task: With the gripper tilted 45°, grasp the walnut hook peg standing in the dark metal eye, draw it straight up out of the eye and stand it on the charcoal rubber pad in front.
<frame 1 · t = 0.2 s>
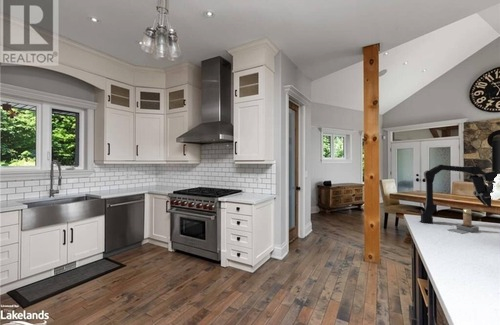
hand: (487, 206, 153), 15 cm above the countertop, tool pointing down, fingers open, 9 cm apart
pad: (457, 231, 148), on the countertop
hook peg: (467, 219, 150), in the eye
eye: (467, 230, 150), on the countertop
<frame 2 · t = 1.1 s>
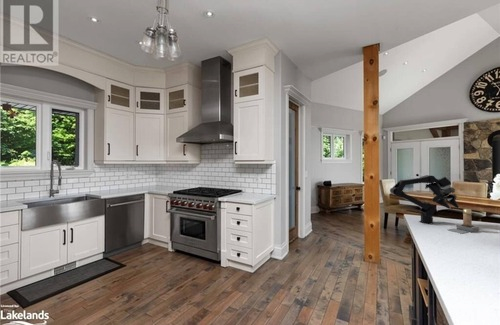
hand: (454, 208, 157), 14 cm above the countertop, tool tilted 45°, fingers open, 9 cm apart
nothing on the countertop moved.
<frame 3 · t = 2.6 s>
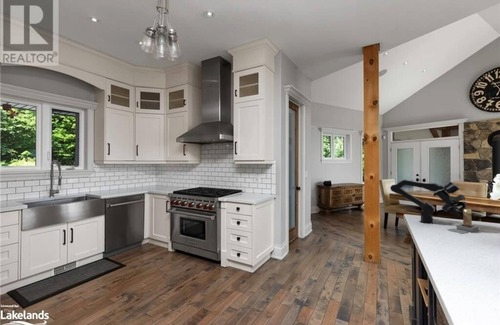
hand: (465, 216, 151), 9 cm above the countertop, tool tilted 45°, fingers open, 9 cm apart
nothing on the countertop moved.
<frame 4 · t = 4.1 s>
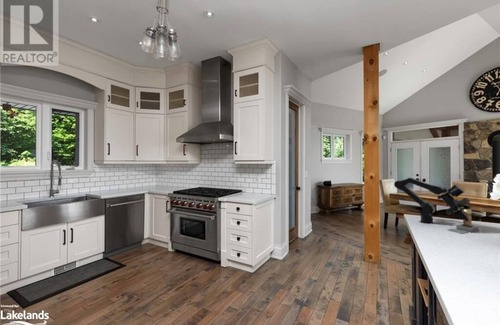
hand: (469, 220, 149), 7 cm above the countertop, tool tilted 45°, fingers closed on hook peg, 4 cm apart
hook peg: (467, 219, 150), in the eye, touching gripper
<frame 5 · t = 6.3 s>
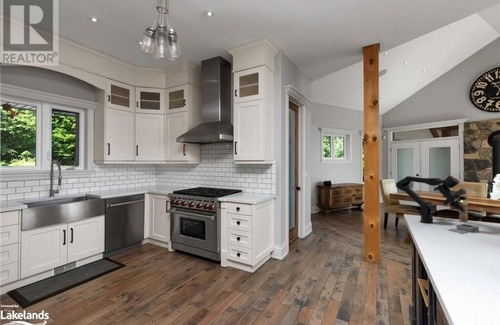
hand: (466, 211, 148), 13 cm above the countertop, tool tilted 45°, fingers closed on hook peg, 4 cm apart
hook peg: (463, 210, 150), point 13 cm above the countertop, touching gripper
when the fingers open (8 cm above the countertop, at t = 8.5 s): hook peg stays where it is, resting on pad.
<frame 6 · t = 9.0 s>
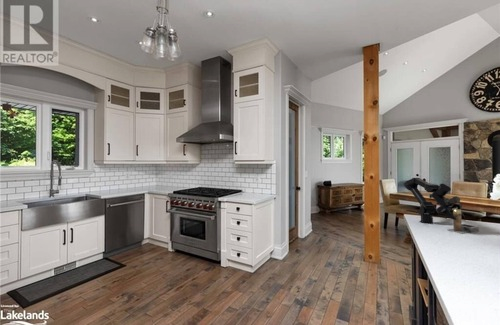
hand: (460, 218, 147), 9 cm above the countertop, tool tilted 45°, fingers open, 9 cm apart
hook peg: (457, 220, 148), on the pad
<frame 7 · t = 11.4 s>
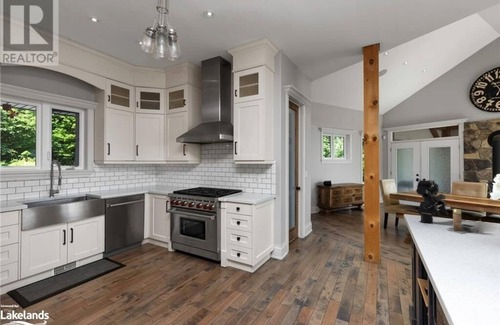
hand: (444, 215, 156), 9 cm above the countertop, tool tilted 40°, fingers open, 9 cm apart
nothing on the countertop moved.
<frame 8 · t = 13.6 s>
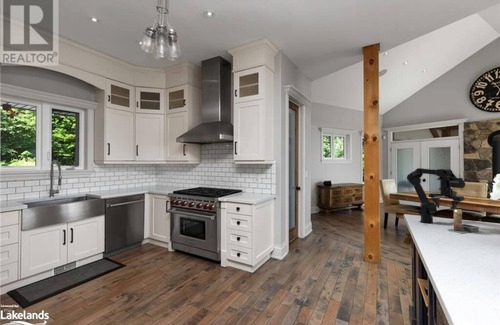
hand: (445, 209, 157), 13 cm above the countertop, tool pointing down, fingers open, 9 cm apart
nothing on the countertop moved.
at the end: hook peg inside the target area (0.1 cm from its centre), point 7.5 cm above the countertop; hook peg tilted 3°; the gripper is holding nothing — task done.
